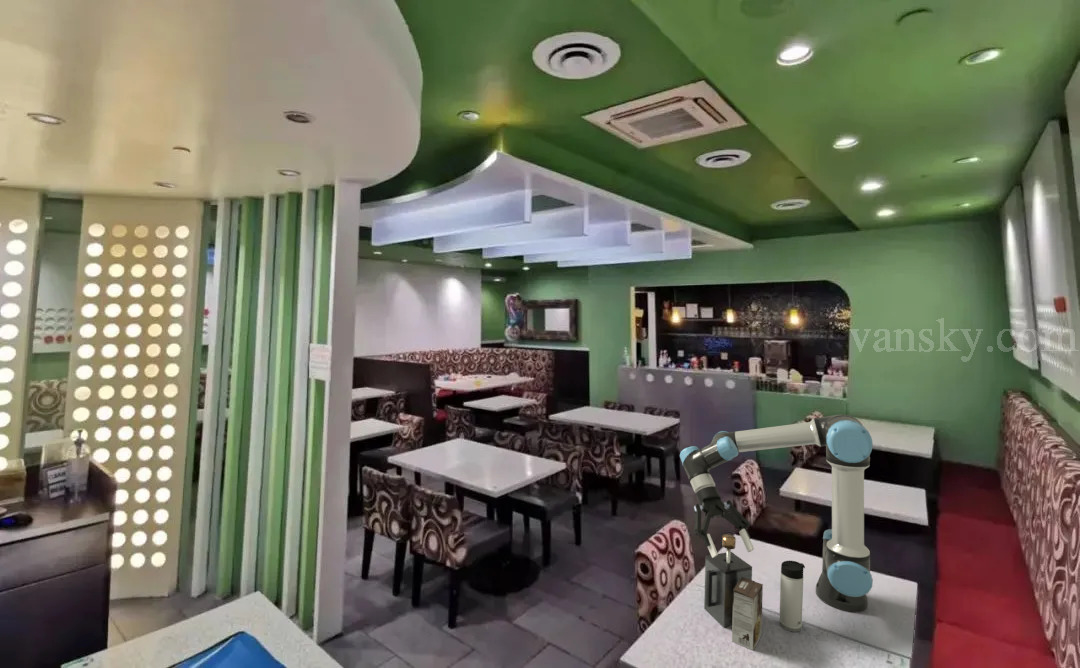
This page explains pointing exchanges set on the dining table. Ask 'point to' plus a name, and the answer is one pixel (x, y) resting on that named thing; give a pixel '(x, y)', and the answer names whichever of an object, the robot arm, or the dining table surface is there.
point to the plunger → (728, 545)
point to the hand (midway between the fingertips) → (733, 553)
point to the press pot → (723, 585)
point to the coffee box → (747, 613)
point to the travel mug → (791, 595)
